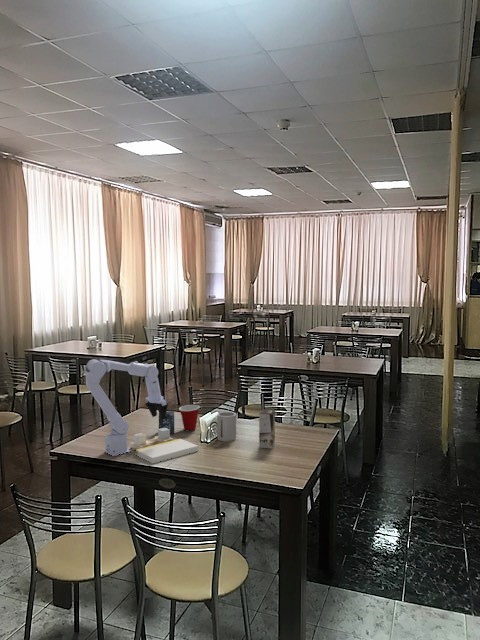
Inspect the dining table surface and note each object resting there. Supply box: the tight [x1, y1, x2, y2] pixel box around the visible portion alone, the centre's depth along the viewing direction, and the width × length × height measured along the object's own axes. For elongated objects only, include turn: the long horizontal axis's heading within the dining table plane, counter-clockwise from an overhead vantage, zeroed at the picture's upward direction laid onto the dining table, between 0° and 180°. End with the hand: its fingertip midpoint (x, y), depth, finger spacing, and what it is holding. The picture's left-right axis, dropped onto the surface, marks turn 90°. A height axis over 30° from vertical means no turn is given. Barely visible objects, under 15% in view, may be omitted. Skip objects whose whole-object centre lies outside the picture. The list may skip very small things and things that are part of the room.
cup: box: [216, 411, 237, 442], centre depth 256 cm, size 9×9×12 cm
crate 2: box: [157, 428, 171, 439], centre depth 248 cm, size 4×4×4 cm
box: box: [158, 410, 175, 435], centre depth 265 cm, size 8×6×11 cm
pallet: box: [129, 435, 175, 451], centre depth 244 cm, size 18×9×3 cm, turn 132°
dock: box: [135, 438, 199, 464], centre depth 234 cm, size 24×14×2 cm, turn 132°
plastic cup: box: [178, 404, 200, 431], centre depth 270 cm, size 11×11×12 cm
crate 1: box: [133, 432, 147, 445], centre depth 239 cm, size 4×4×4 cm
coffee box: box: [258, 408, 276, 449], centre depth 244 cm, size 9×6×16 cm
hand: (159, 417), depth 245 cm, fingers open, 7 cm apart
